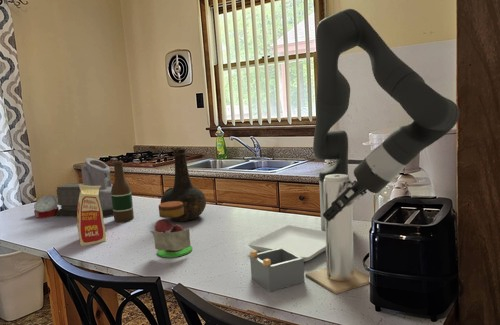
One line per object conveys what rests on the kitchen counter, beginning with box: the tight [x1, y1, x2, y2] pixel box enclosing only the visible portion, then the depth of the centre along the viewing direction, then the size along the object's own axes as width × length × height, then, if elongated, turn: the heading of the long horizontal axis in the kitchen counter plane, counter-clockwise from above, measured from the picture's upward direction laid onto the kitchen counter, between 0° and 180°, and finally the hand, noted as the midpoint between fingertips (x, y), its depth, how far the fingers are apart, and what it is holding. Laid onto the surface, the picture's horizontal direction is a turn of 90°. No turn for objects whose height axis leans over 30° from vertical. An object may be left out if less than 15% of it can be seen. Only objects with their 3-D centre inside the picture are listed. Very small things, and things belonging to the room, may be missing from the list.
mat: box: [305, 267, 370, 295], centre depth 103 cm, size 12×12×1 cm
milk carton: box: [76, 185, 107, 247], centre depth 145 cm, size 9×9×20 cm
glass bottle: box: [160, 147, 207, 222], centre depth 165 cm, size 18×18×28 cm
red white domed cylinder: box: [33, 194, 60, 219], centre depth 187 cm, size 11×10×10 cm
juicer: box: [54, 157, 114, 219], centre depth 184 cm, size 30×16×24 cm, turn 75°
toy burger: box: [149, 201, 193, 258], centre depth 129 cm, size 12×13×15 cm
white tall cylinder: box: [324, 174, 355, 282], centre depth 101 cm, size 6×6×25 cm
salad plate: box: [247, 224, 326, 262], centre depth 126 cm, size 21×21×3 cm
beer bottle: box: [111, 160, 135, 223], centre depth 169 cm, size 8×8×24 cm
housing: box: [249, 247, 305, 293], centre depth 104 cm, size 10×10×7 cm
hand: (332, 213), depth 102 cm, fingers open, 8 cm apart
